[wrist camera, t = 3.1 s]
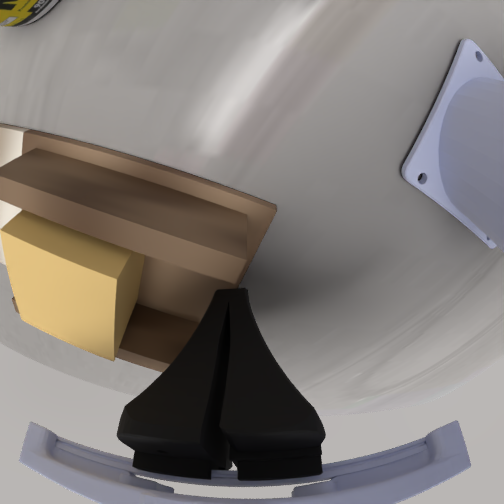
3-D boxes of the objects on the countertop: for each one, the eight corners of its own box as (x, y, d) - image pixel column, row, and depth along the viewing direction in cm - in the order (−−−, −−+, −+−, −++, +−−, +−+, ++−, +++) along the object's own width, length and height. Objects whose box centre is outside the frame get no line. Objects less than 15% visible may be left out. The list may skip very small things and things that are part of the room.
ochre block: (154, 215, 11) (117, 279, 7) (137, 298, 13) (114, 361, 10) (56, 183, 9) (-1, 229, 6) (57, 267, 12) (21, 319, 9)
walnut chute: (275, 205, 11) (286, 255, 8) (209, 337, 16) (204, 388, 13) (-43, 116, 6) (-82, 135, 4) (-34, 235, 11) (-60, 263, 8)
